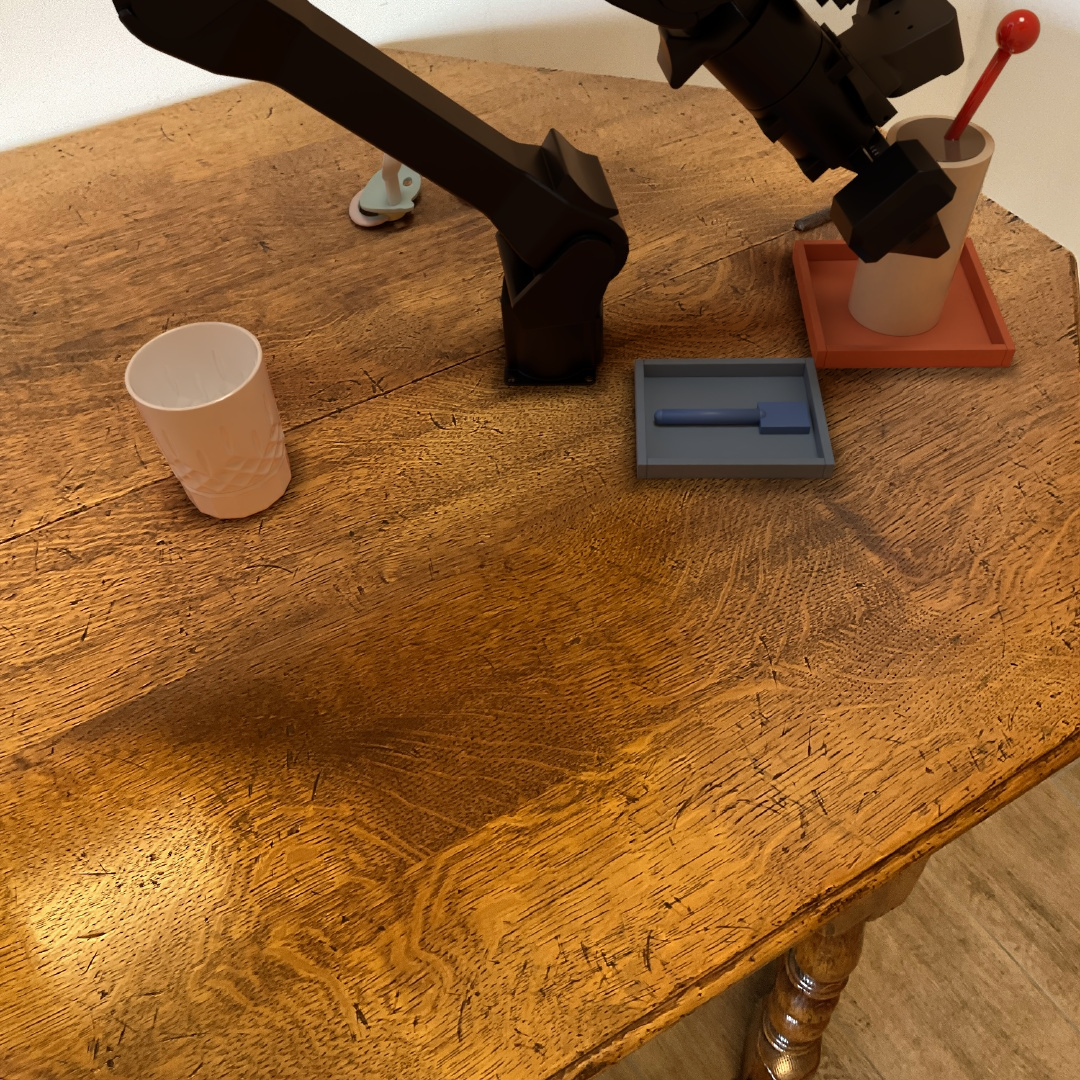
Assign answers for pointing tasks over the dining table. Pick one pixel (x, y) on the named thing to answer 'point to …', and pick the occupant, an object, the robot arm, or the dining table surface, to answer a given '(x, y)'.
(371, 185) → the pacifier
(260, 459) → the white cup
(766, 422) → the blue spatula
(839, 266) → the terracotta tray
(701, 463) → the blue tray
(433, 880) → the dining table surface
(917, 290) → the beige spoon holder
